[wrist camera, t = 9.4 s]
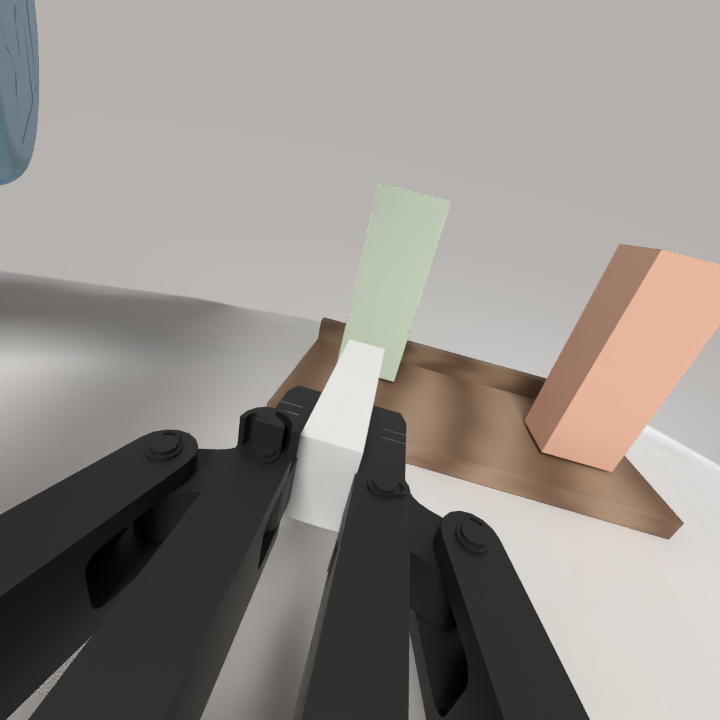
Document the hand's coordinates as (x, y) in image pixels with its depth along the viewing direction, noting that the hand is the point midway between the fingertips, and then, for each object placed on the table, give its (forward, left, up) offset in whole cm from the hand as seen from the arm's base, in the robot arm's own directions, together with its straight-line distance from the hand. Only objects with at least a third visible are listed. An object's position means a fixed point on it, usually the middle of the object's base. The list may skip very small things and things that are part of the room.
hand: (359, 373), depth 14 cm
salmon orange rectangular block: (+16, +10, -6) cm, 20 cm away
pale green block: (0, +15, -6) cm, 16 cm away
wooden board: (+8, +13, -8) cm, 17 cm away
